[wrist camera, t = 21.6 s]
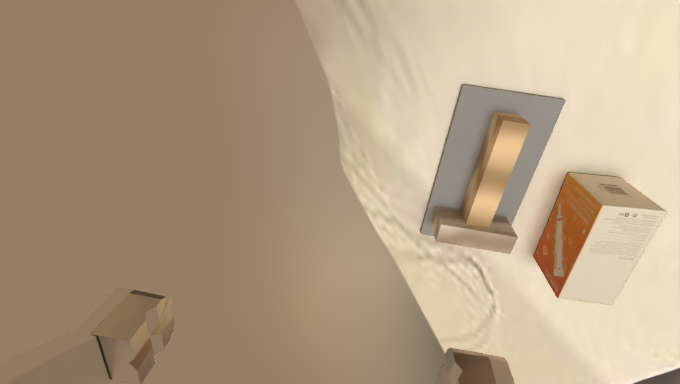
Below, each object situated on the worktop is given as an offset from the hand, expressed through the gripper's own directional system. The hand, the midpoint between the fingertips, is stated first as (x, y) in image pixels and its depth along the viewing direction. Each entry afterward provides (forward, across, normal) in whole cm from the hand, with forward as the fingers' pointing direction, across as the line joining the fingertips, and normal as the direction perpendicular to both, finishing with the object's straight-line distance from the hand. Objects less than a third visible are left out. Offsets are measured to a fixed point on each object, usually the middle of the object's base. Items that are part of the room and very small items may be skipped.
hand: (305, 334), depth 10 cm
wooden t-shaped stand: (+34, -16, +8) cm, 38 cm away
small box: (+30, -28, +6) cm, 42 cm away
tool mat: (+34, -16, +8) cm, 38 cm away
